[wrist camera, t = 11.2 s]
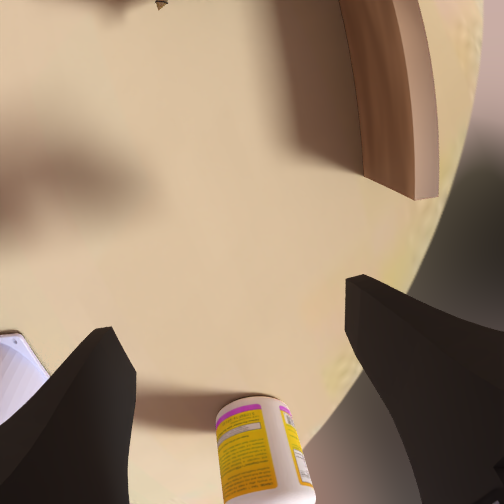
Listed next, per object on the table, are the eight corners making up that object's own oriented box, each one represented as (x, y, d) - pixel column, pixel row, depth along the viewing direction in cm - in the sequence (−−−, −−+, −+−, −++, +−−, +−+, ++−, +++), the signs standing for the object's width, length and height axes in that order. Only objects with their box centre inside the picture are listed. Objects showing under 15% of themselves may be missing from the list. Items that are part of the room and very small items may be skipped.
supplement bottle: (204, 426, 24) (215, 553, 12) (232, 386, 22) (257, 541, 10) (267, 435, 26) (293, 548, 14) (303, 398, 24) (346, 528, 12)
